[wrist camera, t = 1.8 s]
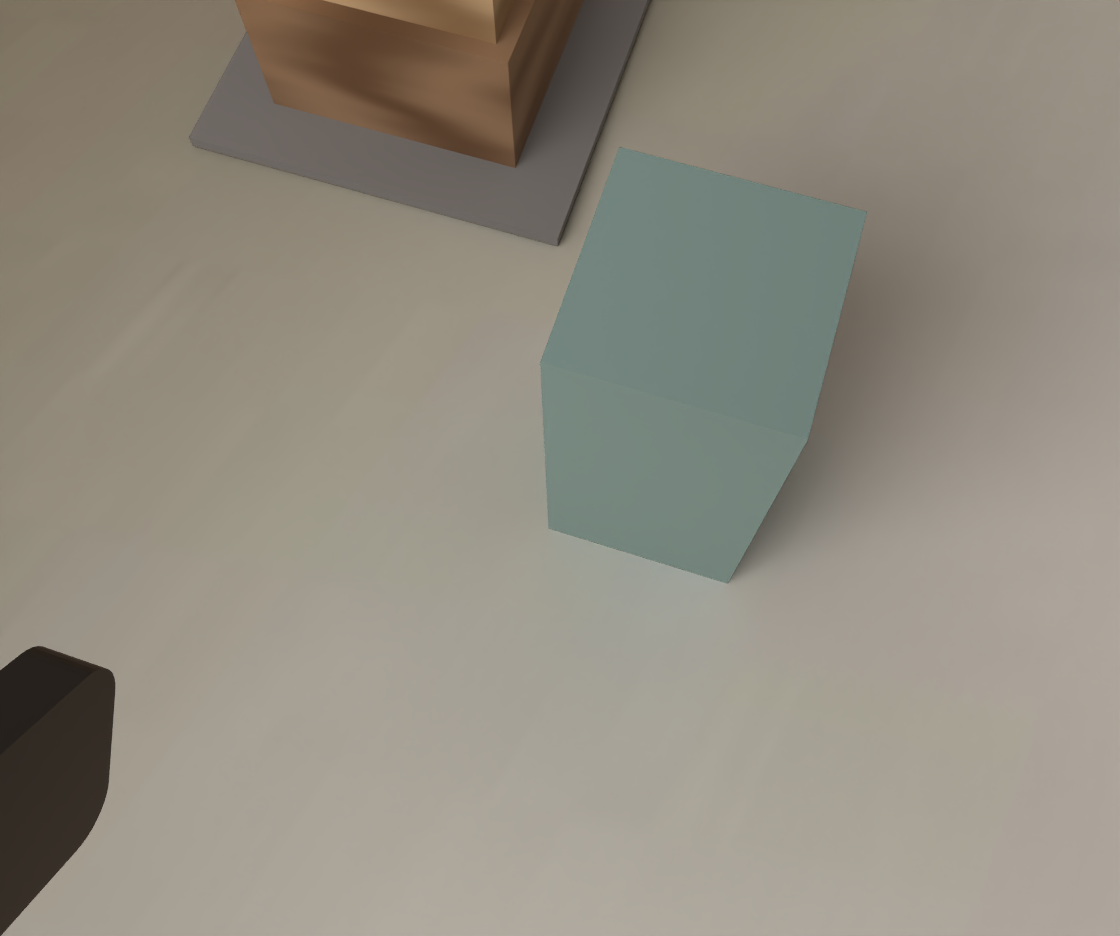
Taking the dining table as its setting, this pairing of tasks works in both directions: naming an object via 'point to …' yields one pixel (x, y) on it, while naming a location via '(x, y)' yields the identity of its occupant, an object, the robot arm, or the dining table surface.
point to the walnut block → (412, 71)
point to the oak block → (444, 14)
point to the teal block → (689, 359)
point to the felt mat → (434, 173)
